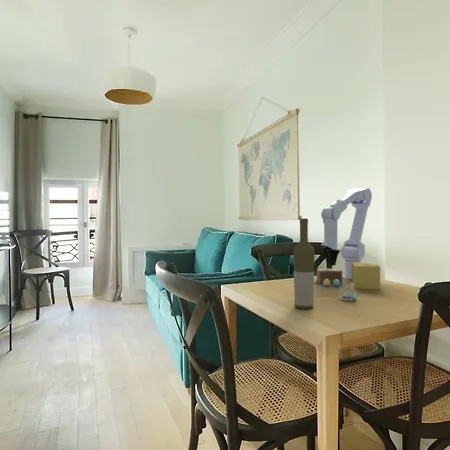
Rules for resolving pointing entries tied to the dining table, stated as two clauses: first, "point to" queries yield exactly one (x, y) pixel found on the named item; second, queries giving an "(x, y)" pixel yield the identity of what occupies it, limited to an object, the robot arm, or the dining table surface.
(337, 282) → the marble teal
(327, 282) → the marble amber
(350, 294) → the pacifier
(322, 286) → the mat
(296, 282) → the bottle
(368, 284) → the cheese
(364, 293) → the dining table surface
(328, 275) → the walnut cover
